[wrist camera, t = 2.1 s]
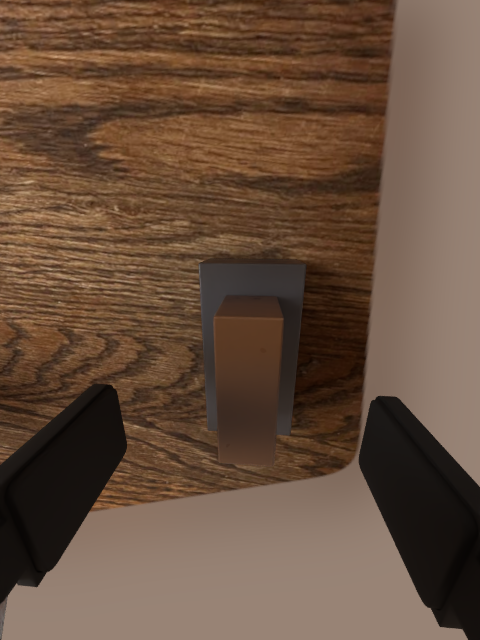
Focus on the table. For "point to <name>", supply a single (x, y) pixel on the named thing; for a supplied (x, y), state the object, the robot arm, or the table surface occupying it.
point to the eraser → (250, 352)
